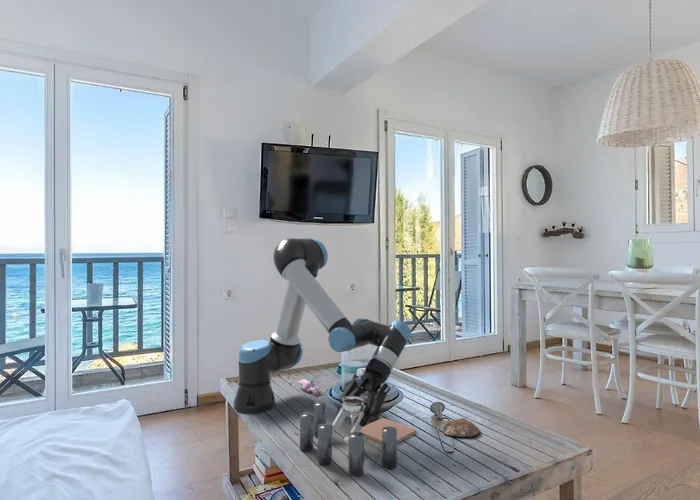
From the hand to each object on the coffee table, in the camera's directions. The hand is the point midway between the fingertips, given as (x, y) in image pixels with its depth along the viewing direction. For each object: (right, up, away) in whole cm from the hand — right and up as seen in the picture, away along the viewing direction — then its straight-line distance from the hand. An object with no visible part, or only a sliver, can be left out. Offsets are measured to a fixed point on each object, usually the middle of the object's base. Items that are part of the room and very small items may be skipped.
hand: (344, 431), depth 128 cm
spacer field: (-1, -6, -1) cm, 7 cm away
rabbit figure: (-15, -6, +54) cm, 56 cm away
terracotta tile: (+13, -6, +14) cm, 21 cm away
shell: (+38, -7, +16) cm, 42 cm away
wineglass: (+2, -4, +3) cm, 5 cm away
